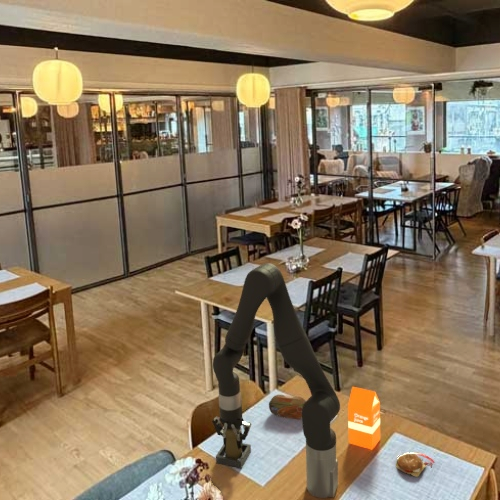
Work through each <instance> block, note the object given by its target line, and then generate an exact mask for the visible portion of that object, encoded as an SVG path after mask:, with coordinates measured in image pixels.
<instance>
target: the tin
mask: <svg viewBox="0 0 500 500" xmlns="http://www.w3.org/2000/svg"><path fill="white" fill-rule="evenodd" d="M306 401H307V400H305V399H304V397H300V396H297V395H296V396H295V395H285V394H276V395H274V396H273V397H272V398H271V399H270V401H269V403H268V408H269V411H270V412H271V414H273V415H274V416H276V417H279V418H284V417H285V418H286V419H294V420H302V407H303V405H304V403H305V402H306Z"/></svg>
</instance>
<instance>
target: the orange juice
mask: <svg viewBox="0 0 500 500" xmlns="http://www.w3.org/2000/svg"><path fill="white" fill-rule="evenodd" d="M347 413H348V415H347V416H348V417H347V418H348V421H347V423H348V425H347V426H348V427H347V428H348V443H349V444H350V445H354V446H356V447H361V448H365V449H369V450H371V451H372V450H373V449H374V448H375V447H376V446H377V445H378V443H379V441H381V402H380V399H379V397H378V395H377V392H376V391H374V390H369V389H366V388H361V387H355V386H352V387H351V391H350V396H349V399H348V404H347Z"/></svg>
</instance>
